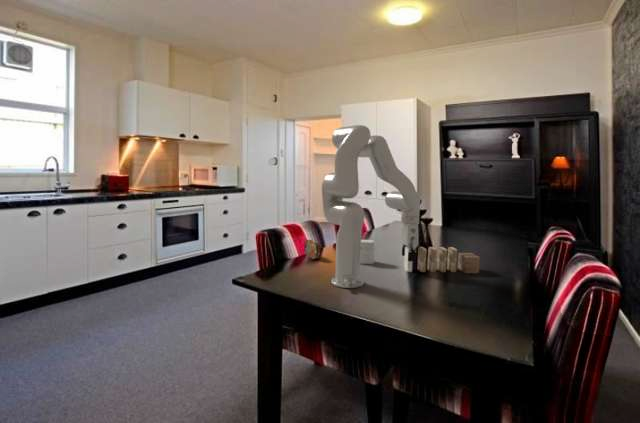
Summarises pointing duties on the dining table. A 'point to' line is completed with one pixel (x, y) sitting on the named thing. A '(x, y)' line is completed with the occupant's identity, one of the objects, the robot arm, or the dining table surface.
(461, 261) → the end block
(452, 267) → the domino
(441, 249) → the domino
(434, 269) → the domino
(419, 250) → the domino
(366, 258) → the small box
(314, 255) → the tin
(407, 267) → the domino
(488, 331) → the dining table surface
